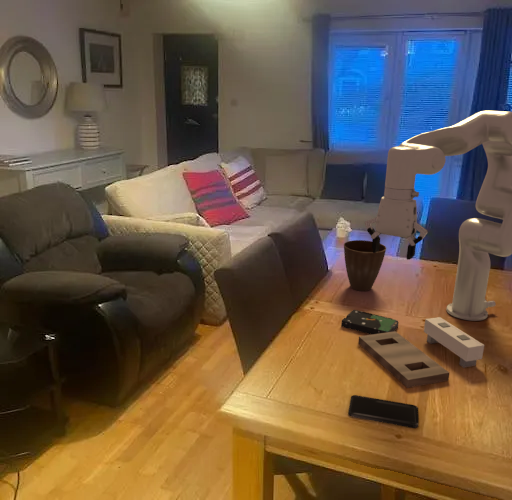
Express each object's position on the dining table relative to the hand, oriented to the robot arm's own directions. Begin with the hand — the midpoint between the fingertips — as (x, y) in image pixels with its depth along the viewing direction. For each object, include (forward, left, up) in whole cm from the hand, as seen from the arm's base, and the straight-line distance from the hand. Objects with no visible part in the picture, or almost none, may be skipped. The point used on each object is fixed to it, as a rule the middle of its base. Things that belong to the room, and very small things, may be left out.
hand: (392, 255), depth 142 cm
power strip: (-13, +13, -26) cm, 31 cm away
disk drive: (0, -8, -26) cm, 28 cm away
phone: (+20, +32, -26) cm, 45 cm away
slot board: (+3, +13, -26) cm, 29 cm away
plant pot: (-14, -38, -26) cm, 48 cm away
